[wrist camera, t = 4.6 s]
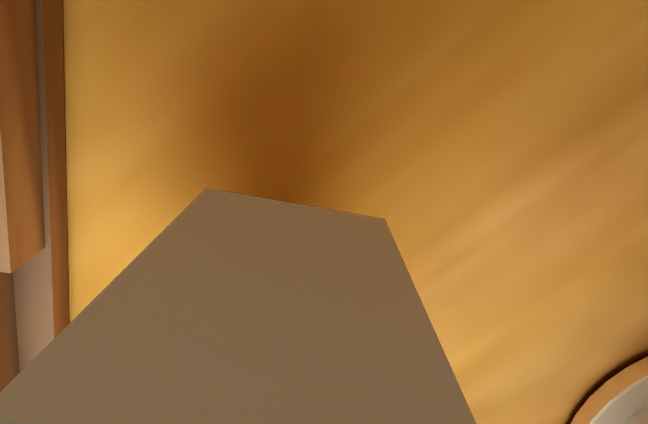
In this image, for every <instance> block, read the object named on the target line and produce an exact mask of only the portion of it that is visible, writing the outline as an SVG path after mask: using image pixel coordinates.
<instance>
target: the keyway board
mask: <svg viewBox="0 0 648 424" xmlns="http://www.w3.org/2000/svg"><path fill="white" fill-rule="evenodd" d="M68 325H69V287H68V239H67V191H66V143H65V95H64V47H63V0H0V392H1V391H2V390H3V389H4V388H5V387H6V386H7V385H8V384H9V383H10V382H11V381H12V380H13V379H14V378H15V377H16V376H17V375H18V374H19V373H20V372H21V371H22V370H23V369H24V368H25V367H26V366H27V365H28V364H29V363H30V362H31V361H32V360H33V359H34V358H35V357H36V356H37V355H38V354H39V353H40V352H41V351H42V350H43V349H44V348H45V347H46V346H47V345H48V344H49V343H50V342H51V341H52V340H53V339H54V338H55V337H56V336H57V335H58V334H59V333H60V332H62V331H63V330H64V329H65V328H66V327H67V326H68Z"/></svg>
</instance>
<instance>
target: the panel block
mask: <svg viewBox="0 0 648 424" xmlns="http://www.w3.org/2000/svg"><path fill="white" fill-rule="evenodd" d="M0 424H476V422H475V420H474V418H473V415H472V413H471V411H470V409H469V406H468V404H467V402H466V400H465V398H464V395H463V393H462V391H461V389H460V386H459V384H458V382H457V380H456V377H455V375H454V373H453V371H452V368H451V366H450V364H449V362H448V360H447V357H446V355H445V353H444V351H443V348H442V346H441V344H440V342H439V339H438V337H437V335H436V333H435V330H434V328H433V326H432V324H431V322H430V319H429V317H428V315H427V313H426V310H425V308H424V306H423V304H422V301H421V299H420V297H419V295H418V292H417V290H416V288H415V286H414V284H413V281H412V279H411V277H410V275H409V272H408V270H407V268H406V266H405V263H404V261H403V259H402V257H401V254H400V252H399V250H398V248H397V246H396V243H395V241H394V239H393V237H392V234H391V232H390V230H389V228H388V225H387V223H386V221H385V219H383V218H377V217H371V216H366V215H360V214H354V213H348V212H342V211H337V210H331V209H325V208H319V207H313V206H308V205H302V204H296V203H290V202H285V201H279V200H273V199H267V198H261V197H256V196H250V195H244V194H238V193H232V192H227V191H221V190H215V189H209V188H206V189H205V190H204V191H203V192H202V193H201V194H200V195H199V196H198V197H197V198H196V199H195V200H194V201H193V202H192V203H191V204H190V205H189V206H188V207H187V208H186V209H185V210H184V211H183V212H182V213H181V214H180V215H179V216H178V217H177V218H176V219H175V220H174V221H173V222H172V223H171V224H170V225H169V226H168V227H167V228H166V229H165V230H164V231H163V232H162V233H161V234H159V235H158V236H157V237H156V238H155V239H154V240H153V241H152V242H151V243H150V244H149V245H148V246H147V247H146V248H145V249H144V250H143V251H142V252H141V253H140V254H139V255H138V256H137V257H136V258H135V259H134V260H133V261H132V262H131V263H130V264H129V265H128V266H127V267H126V268H125V269H124V270H123V271H122V272H121V273H120V274H119V275H118V276H117V277H116V278H115V279H114V280H113V281H112V282H111V283H110V284H109V285H108V286H107V287H106V288H105V289H104V290H103V291H102V292H101V293H100V294H99V295H98V296H97V297H96V298H95V299H94V300H93V301H92V302H91V303H90V304H89V305H88V306H87V307H86V308H85V309H84V310H83V311H82V312H81V313H80V314H79V315H78V316H77V317H76V318H75V319H74V320H73V321H72V322H71V323H70V324H69V325H68V326H67V327H66V328H65V329H64V330H63V331H62V332H60V333H59V334H58V335H57V336H56V337H55V338H54V339H53V340H52V341H51V342H50V343H49V344H48V345H47V346H46V347H45V348H44V349H43V350H42V351H41V352H40V353H39V354H38V355H37V356H36V357H35V358H34V359H33V360H32V361H31V362H30V363H29V364H28V365H27V366H26V367H25V368H24V369H23V370H22V371H21V372H20V373H19V374H18V375H17V376H16V377H15V378H14V379H13V380H12V381H11V382H10V383H9V384H8V385H7V386H6V387H5V388H4V389H3V390H2V391H1V392H0Z"/></svg>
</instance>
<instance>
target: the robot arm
mask: <svg viewBox="0 0 648 424" xmlns="http://www.w3.org/2000/svg"><path fill="white" fill-rule="evenodd" d="M571 424H648V356H647V357H645V358H643V359H641V360H639V361H637V362H635V363H633V364H631V365H630V366H628V367H626V368H625V369H623V370H622V371H620V372H619V373H617V374H616V375H614V376H613V377H612V378H610V379H609V380H607V381H606V382H605V383H604V384H603V385H602V386H601V387H600V388H598V389H597V390H596V391H595V392H594V393H593V394H592V395H591V396H590V397H589V398H588V399H587V401H586V402H585V403H584V404H583V406H582V407H581V408H580V409H579V411H578V412H577V413H576V415H575V416H574V418H573V420H572V422H571Z"/></svg>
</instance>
